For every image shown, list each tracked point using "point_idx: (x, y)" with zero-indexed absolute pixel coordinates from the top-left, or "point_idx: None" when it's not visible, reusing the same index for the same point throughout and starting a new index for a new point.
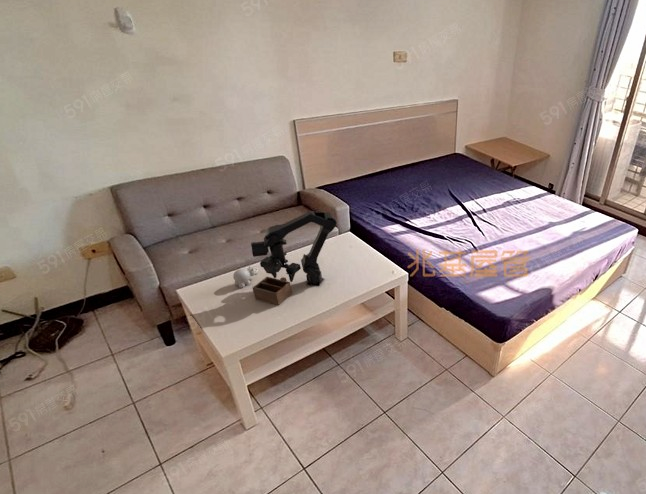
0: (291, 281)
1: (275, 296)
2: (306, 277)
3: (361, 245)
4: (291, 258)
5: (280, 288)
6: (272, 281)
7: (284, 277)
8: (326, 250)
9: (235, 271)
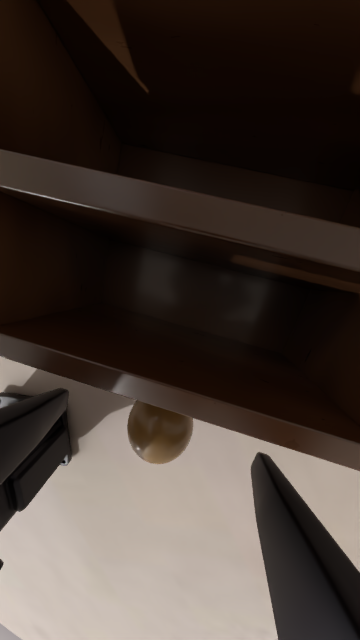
0: (51, 394)
1: None
2: (36, 459)
3: (11, 631)
4: (251, 611)
5: (12, 156)
6: (262, 384)
7: (141, 457)
8: (116, 631)
9: None
